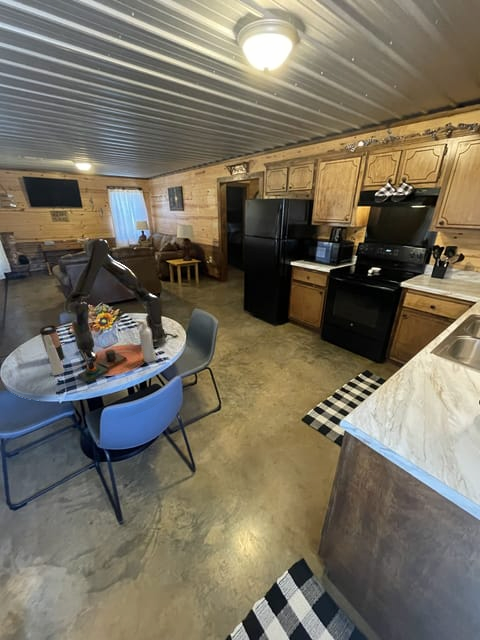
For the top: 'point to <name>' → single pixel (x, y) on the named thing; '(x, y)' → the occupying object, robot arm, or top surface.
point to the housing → (92, 373)
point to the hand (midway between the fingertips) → (91, 368)
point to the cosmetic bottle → (53, 357)
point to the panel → (112, 362)
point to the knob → (110, 355)
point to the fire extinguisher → (146, 341)
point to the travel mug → (54, 337)
